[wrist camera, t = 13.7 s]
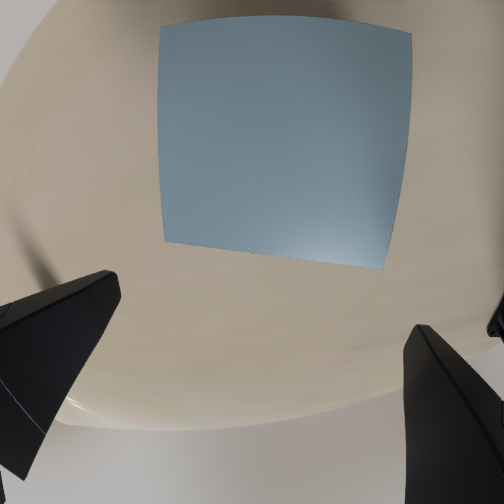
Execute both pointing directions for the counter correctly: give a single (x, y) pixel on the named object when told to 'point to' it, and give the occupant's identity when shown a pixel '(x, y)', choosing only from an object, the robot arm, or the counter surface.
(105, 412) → the counter surface
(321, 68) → the pale blue-grey cube
